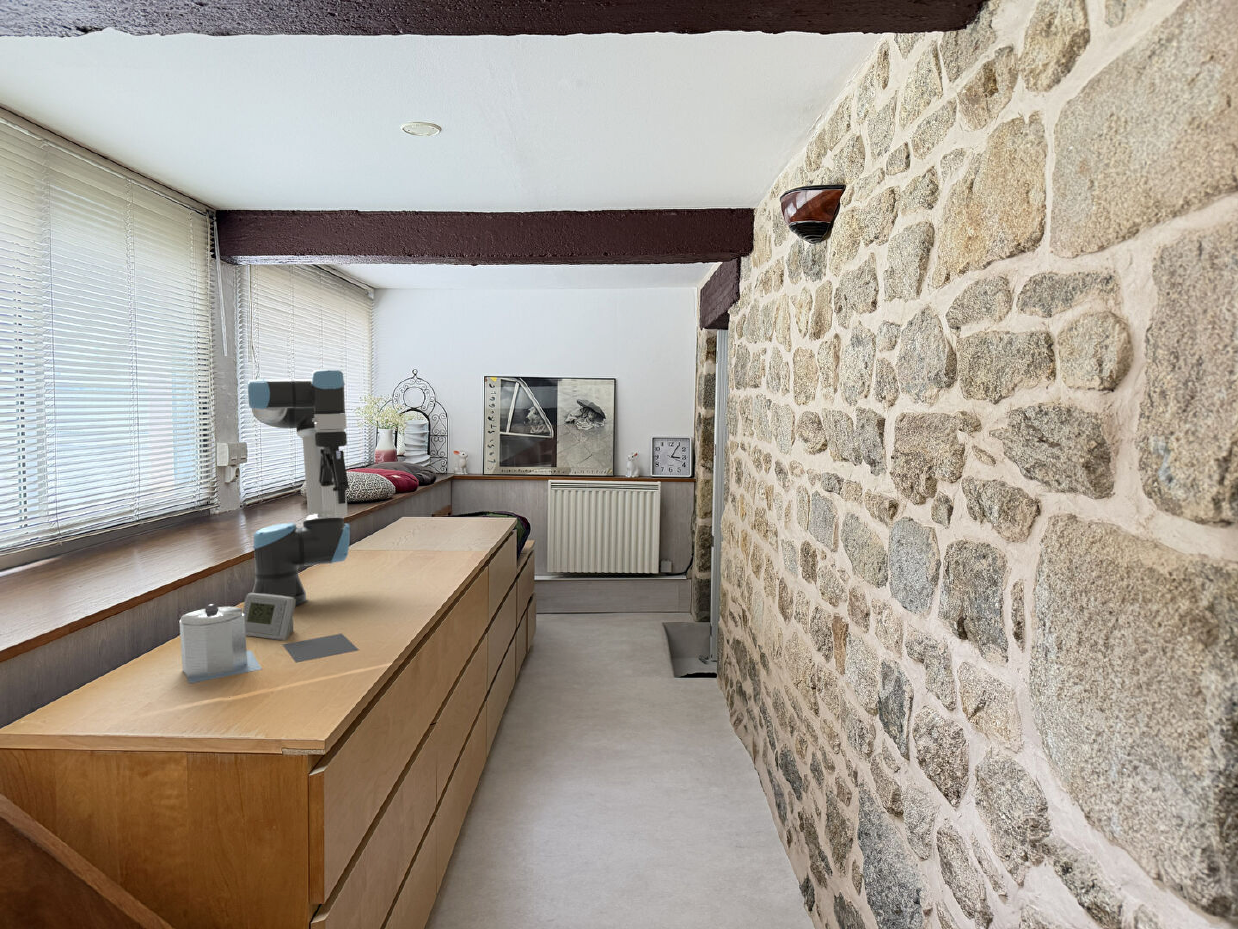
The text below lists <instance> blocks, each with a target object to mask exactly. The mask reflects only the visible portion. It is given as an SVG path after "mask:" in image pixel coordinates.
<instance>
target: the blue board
mask: <svg viewBox="0 0 1238 929" xmlns="http://www.w3.org/2000/svg"><path fill="white" fill-rule="evenodd" d="M256 658H257V657H256V656H255V654H254V653H253V651H252V650H251V649H250V650H247V664H246V665H244V666H242V667H241V668H239V669H237V670H236V671H234V672H229V673H225V674H220V675H216V676H211V677H187V680H188V683H189V684H195V683H199V682H204V681H211V680H214V679H219V678H226V677H230V676H231V677H232V676H236V675H240V674H244V673H250V672H255V671H260V669H261V670H263V668H262V666H261V665H260V663H259V661H258V659H256Z"/></svg>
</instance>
